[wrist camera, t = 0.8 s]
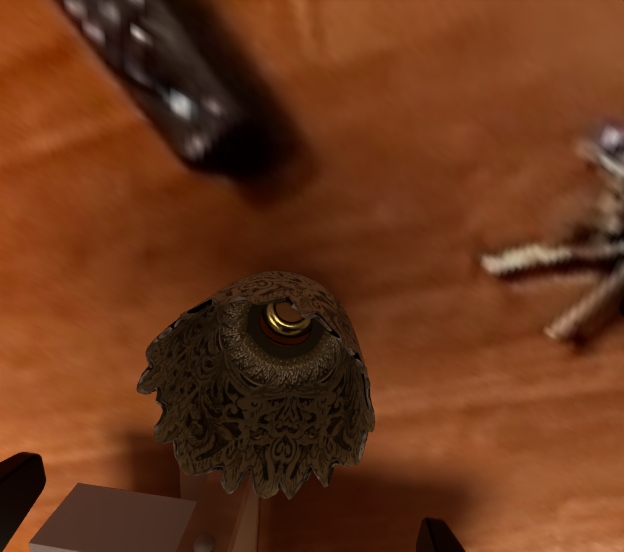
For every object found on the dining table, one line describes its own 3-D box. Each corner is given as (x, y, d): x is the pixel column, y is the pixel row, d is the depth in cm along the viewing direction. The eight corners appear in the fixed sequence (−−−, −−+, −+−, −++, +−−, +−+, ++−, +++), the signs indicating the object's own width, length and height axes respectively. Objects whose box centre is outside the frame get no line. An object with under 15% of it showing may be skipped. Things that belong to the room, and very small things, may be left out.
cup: (365, 367, 19) (380, 505, 11) (235, 372, 20) (168, 503, 12) (357, 233, 17) (368, 293, 9) (210, 245, 18) (108, 310, 10)
